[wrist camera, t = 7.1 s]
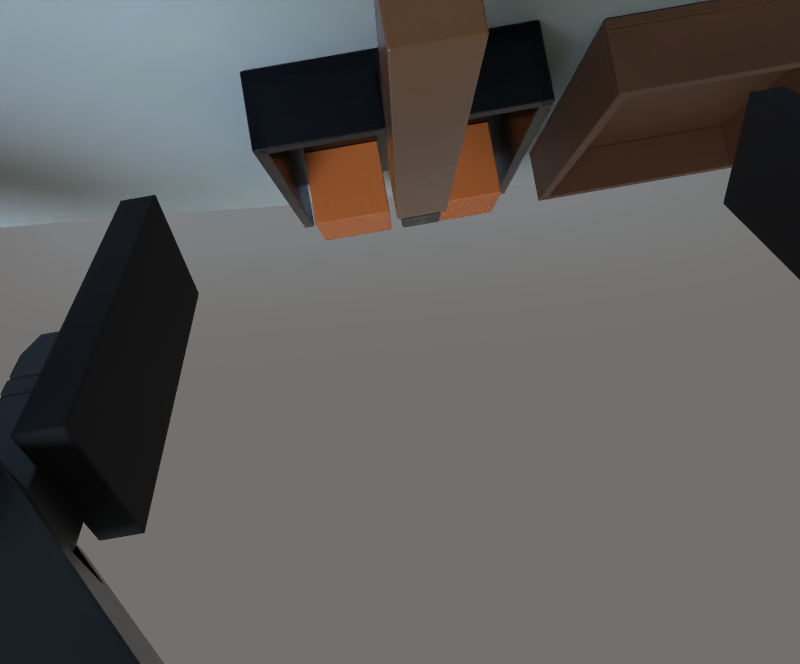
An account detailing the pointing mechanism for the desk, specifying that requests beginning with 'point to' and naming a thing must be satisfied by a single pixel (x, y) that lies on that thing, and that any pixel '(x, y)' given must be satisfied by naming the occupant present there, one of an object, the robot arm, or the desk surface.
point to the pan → (405, 102)
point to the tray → (665, 94)
